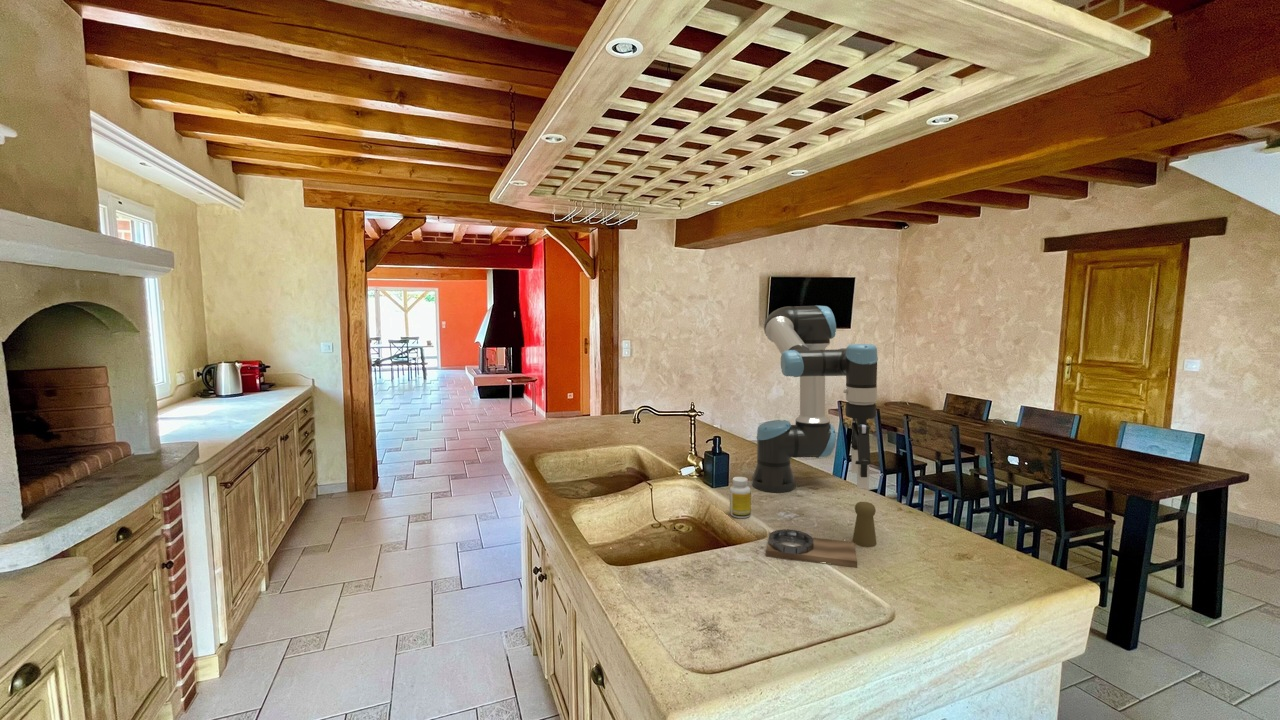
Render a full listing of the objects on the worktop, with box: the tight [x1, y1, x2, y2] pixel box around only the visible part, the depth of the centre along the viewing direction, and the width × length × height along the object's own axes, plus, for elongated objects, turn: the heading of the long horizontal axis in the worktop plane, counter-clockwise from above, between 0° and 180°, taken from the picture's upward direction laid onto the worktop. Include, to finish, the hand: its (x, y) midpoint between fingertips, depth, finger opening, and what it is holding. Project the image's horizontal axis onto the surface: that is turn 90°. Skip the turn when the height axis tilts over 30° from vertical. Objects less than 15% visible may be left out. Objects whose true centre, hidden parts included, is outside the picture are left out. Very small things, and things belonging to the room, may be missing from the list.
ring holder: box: [768, 528, 814, 554], centre depth 138 cm, size 11×11×2 cm
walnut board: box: [765, 532, 858, 568], centre depth 137 cm, size 11×22×2 cm, turn 72°
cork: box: [852, 501, 878, 548], centre depth 141 cm, size 6×6×11 cm
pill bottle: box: [729, 476, 752, 519], centre depth 162 cm, size 6×6×12 cm
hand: (859, 480), depth 139 cm, fingers open, 13 cm apart
